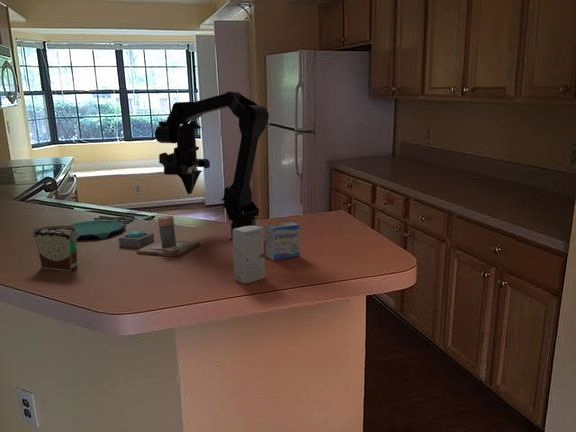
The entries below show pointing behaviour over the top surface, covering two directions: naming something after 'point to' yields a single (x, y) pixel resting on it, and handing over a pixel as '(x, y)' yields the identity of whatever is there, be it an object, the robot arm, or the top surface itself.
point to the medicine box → (282, 241)
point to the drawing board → (169, 248)
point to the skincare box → (248, 253)
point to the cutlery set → (101, 226)
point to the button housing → (136, 241)
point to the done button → (136, 234)
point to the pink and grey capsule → (167, 231)
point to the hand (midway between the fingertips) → (189, 193)
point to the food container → (57, 247)
